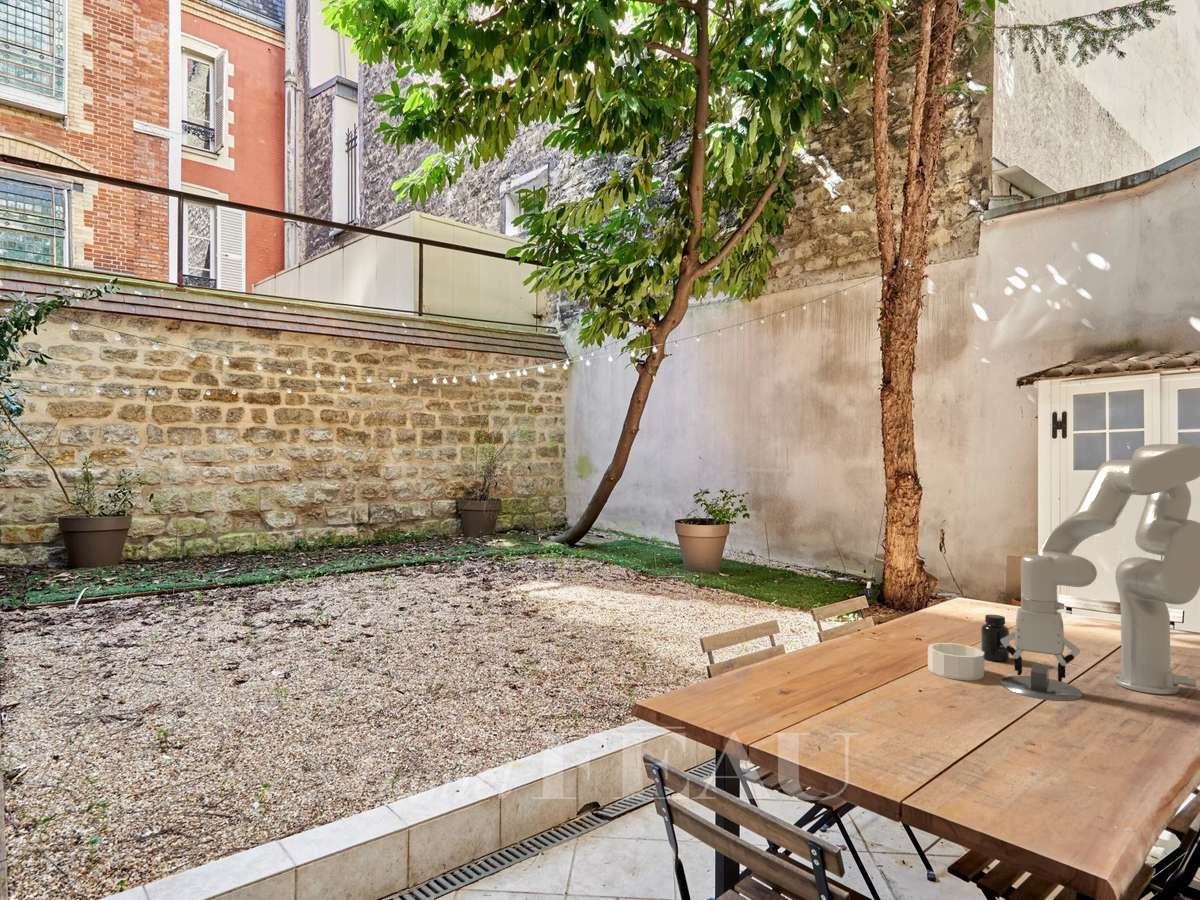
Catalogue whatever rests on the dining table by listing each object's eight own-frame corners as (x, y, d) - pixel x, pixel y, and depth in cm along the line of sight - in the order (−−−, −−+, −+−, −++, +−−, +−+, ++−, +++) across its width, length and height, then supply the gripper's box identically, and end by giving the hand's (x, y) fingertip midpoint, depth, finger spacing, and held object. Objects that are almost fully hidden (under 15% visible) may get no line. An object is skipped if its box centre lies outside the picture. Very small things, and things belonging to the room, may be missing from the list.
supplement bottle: (1007, 664, 188) (1007, 620, 188) (979, 659, 193) (979, 616, 193) (1011, 657, 194) (1010, 615, 194) (983, 653, 198) (982, 612, 198)
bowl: (986, 670, 184) (986, 648, 184) (980, 683, 173) (980, 660, 173) (933, 662, 191) (933, 640, 191) (924, 674, 181) (924, 651, 181)
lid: (1083, 687, 171) (1082, 665, 171) (1081, 708, 157) (1080, 684, 157) (1004, 674, 181) (1004, 654, 181) (996, 693, 167) (995, 671, 167)
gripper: (1082, 607, 167) (1083, 679, 167) (1000, 598, 177) (1000, 666, 177) (1081, 613, 161) (1082, 688, 161) (996, 604, 171) (997, 674, 171)
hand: (1039, 676), depth 169 cm, fingers open, 7 cm apart
